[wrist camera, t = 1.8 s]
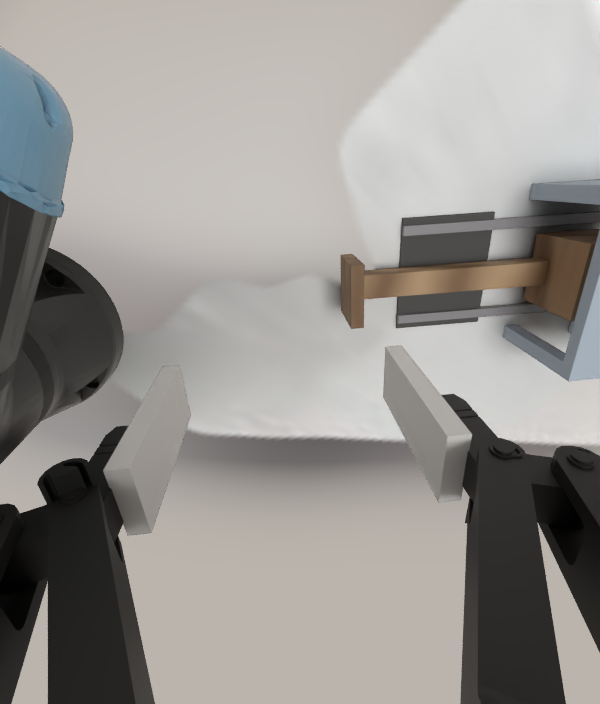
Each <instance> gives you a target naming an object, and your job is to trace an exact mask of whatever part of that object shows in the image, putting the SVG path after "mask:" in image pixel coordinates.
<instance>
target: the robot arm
mask: <svg viewBox="0 0 600 704" xmlns="http://www.w3.org/2000/svg"><path fill="white" fill-rule="evenodd" d="M72 141H73V127H72V122H71V118H70V115H69V112H68V109H67V107H66V105H65V103H64V101H63V100H62V98H61V97H60V95H59V94H58V92H57V91H56V90H55V88H54V87H53V86H52V85H51V84H50V83H49V82H48V81H47V80H46V79H45V78H44V77H43V76H41V75H40V74H39V73H38V72H36V71H35V70H34V69H32V68H31V67H30V66H28V65H27V64H25V63H24V62H23V61H21V60H20V59H18V58H17V57H15V56H14V55H13V54H11V53H10V52H8V51H7V50H5V49H4V48H2V47H1V46H0V464H1V463H2V462H3V461H4V460H5V459H6V458H7V456H8V455H9V454H10V453H11V452H12V451H13V450H14V449H15V448H16V447H17V446H18V445H19V444H20V443H21V442H22V441H23V440H24V438H25V437H26V436H27V435H28V434H29V433H30V432H31V431H32V430H33V429H34V427H36V425H38V423H39V422H40V421H42V420H44V419H46V418H48V417H51V416H53V415H55V414H57V413H59V412H61V411H64V410H66V409H68V408H70V407H72V406H75V405H77V404H79V403H81V402H83V401H84V400H86V399H88V398H89V397H90V396H92V395H93V394H94V393H96V392H97V391H98V390H99V389H100V388H101V387H102V386H103V384H104V383H105V382H106V381H107V380H108V378H109V377H110V376H111V375H112V373H113V372H114V370H115V369H116V367H117V365H118V363H119V360H120V358H121V354H122V349H123V331H122V325H121V321H120V318H119V315H118V312H117V310H116V307H115V305H114V303H113V302H112V300H111V298H110V297H109V295H108V294H107V292H106V291H105V289H104V288H103V287H102V285H101V284H100V283H99V282H98V281H97V280H96V279H95V278H94V277H93V276H92V275H91V274H90V273H89V272H88V271H87V270H86V269H84V268H83V267H82V266H81V265H79V264H78V263H76V262H75V261H73V260H72V259H70V258H69V257H67V256H65V255H63V254H61V253H59V252H57V251H55V250H53V249H51V248H49V244H50V241H51V237H52V233H53V230H54V227H55V223H56V220H57V217H62V214H63V211H64V204H63V202H62V200H61V198H62V193H63V187H64V182H65V177H66V171H67V166H68V160H69V155H70V150H71V146H72ZM383 397H384V399H385V401H386V403H387V405H388V407H389V409H390V411H391V413H392V415H393V416H394V418H395V420H396V422H397V424H398V426H399V428H400V430H401V432H402V434H403V436H404V437H405V439H406V441H407V443H408V445H409V447H410V449H411V451H412V453H413V455H414V457H415V459H416V460H417V462H418V464H419V466H420V468H421V470H422V472H423V474H424V475H425V478H426V480H427V481H428V483H429V485H430V487H431V489H432V491H433V493H434V495H435V497H436V498H437V501H438V502H447V501H457V500H461V496H462V489H463V487H464V489H465V490H466V492H467V494H468V495H469V497H470V499H469V504H468V509H467V515H466V521H465V523H467V547H466V573H465V600H464V602H465V603H464V627H463V655H462V680H461V704H566V703H565V696H564V690H563V683H562V677H561V670H560V664H559V658H558V652H557V645H556V639H555V633H554V626H553V620H552V614H551V607H550V601H549V595H548V588H547V582H546V575H545V569H544V563H543V557H542V550H541V543H540V537H539V531H538V525H537V522H538V523H539V525H540V528H541V530H542V532H543V534H544V536H545V538H546V540H547V542H548V544H549V546H550V548H551V551H552V553H553V555H554V557H555V559H556V561H557V563H558V565H559V568H560V570H561V572H562V574H563V576H564V578H565V580H566V582H567V584H568V586H569V588H570V591H571V593H572V595H573V597H574V599H575V601H576V603H577V605H578V607H579V610H580V612H581V614H582V616H583V618H584V620H585V622H586V624H587V627H588V629H589V631H590V633H591V635H592V637H593V639H594V641H595V643H596V645H597V648H598V650H599V652H600V456H599V455H597V454H595V453H593V452H591V451H589V450H587V449H584V448H581V447H575V446H561V447H559V448H557V449H556V451H555V453H554V456H553V458H551V457H543V456H535V455H529V454H525V452H524V450H523V449H522V448H521V447H520V446H519V445H517V444H515V443H513V442H511V441H509V440H505V439H502V438H498V437H497V436H496V435H495V434H494V433H493V432H492V431H491V429H490V428H489V427H488V426H487V425H486V424H485V423H484V421H483V420H482V419H481V418H480V417H478V415H477V414H476V412H475V411H474V410H472V408H471V407H470V406H469V405H468V403H467V402H466V401H465V400H463V399H461V398H460V397H458V396H456V395H455V394H448V395H441V394H440V393H439V392H438V391H437V389H436V388H435V387H434V386H433V384H432V383H431V382H430V381H429V379H428V378H427V377H426V375H425V374H424V373H423V372H422V370H421V369H420V368H419V367H418V365H417V364H416V363H415V362H414V360H413V359H412V358H411V357H410V355H409V354H408V353H407V352H406V350H405V349H404V348H403V347H402V345H401V346H389V347H385V369H384V392H383ZM190 416H191V413H190V409H189V404H188V400H187V395H186V391H185V387H184V382H183V378H182V373H181V369H180V365H174V366H163V367H162V368H161V370H160V372H159V374H158V375H157V377H156V379H155V381H154V382H153V384H152V386H151V388H150V389H149V391H148V393H147V395H146V396H145V398H144V400H143V402H142V403H141V405H140V407H139V409H138V410H137V412H136V414H135V416H134V417H133V419H132V421H131V423H130V424H129V426H120V427H116V428H114V429H113V430H112V431H111V432H110V433H108V434H107V435H106V436H105V438H104V439H103V441H102V442H101V444H100V445H99V446H100V447H99V448H97V450H96V452H95V453H94V455H93V456H92V458H91V459H90V461H89V462H88V461H87V460H85V459H82V458H75V459H69V460H66V461H62V462H60V463H58V464H56V465H54V466H52V467H51V468H50V469H48V470H47V471H45V472H44V474H43V475H42V476H41V477H40V478H39V481H38V486H39V488H40V490H41V492H42V494H43V496H44V499H45V500H46V502H47V505H45V506H42V507H39V508H36V509H33V510H30V511H27V512H23V513H19V511H18V510H17V508H16V507H15V505H11V504H2V505H0V704H11V702H12V699H13V696H14V692H15V689H16V686H17V682H18V679H19V676H20V672H21V669H22V666H23V662H24V658H25V655H26V652H27V649H28V645H29V642H30V639H31V635H32V632H33V628H34V625H35V622H36V618H37V615H38V612H39V608H40V605H41V601H42V598H43V595H44V591H45V588H46V584H47V581H48V704H155V702H154V698H153V693H152V688H151V683H150V678H149V674H148V669H147V665H146V660H145V655H144V650H143V645H142V640H141V636H140V631H139V626H138V622H137V617H136V612H135V607H134V603H133V598H132V593H131V588H130V584H129V579H128V574H127V570H126V565H125V560H124V556H123V550H122V546H121V542H120V540H119V537H118V534H119V532H120V529H121V527H122V525H124V527H125V530H126V532H127V535H138V534H147V533H152V530H153V527H154V524H155V521H156V518H157V515H158V512H159V509H160V506H161V503H162V500H163V497H164V494H165V491H166V488H167V485H168V482H169V479H170V476H171V473H172V470H173V467H174V464H175V461H176V458H177V455H178V452H179V449H180V446H181V443H182V440H183V437H184V434H185V431H186V428H187V425H188V422H189V419H190Z"/></svg>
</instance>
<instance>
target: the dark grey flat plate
mask: <svg viewBox="0 0 600 704" xmlns="http://www.w3.org/2000/svg"><path fill="white" fill-rule="evenodd" d="M494 214H495V212H484V213H469V214H455V215H441V216H427V217H413V218H402V227H403V226H408V225H422V224H436V223H450V222H464V221H478V220H492V219H494ZM491 233H492V230H482V231H469V232H455V233H441V234H427V235H414V236H402V231H401V249H400V267H399V268H405V267H419V266H432V265H445V264H458V263H471V262H484V261H487V259H488V252H489V246H490V240H491ZM482 291H483V290H473V291H461V292H448V293H436V294H423V295H410V296H398V302H397V314H408V313H421V312H433V311H445V310H457V309H470V308H480V303H481V297H482ZM476 321H478V317H474V318H462V319H450V320H438V321H426V322H414V323H402V324H398V323H397V320H396V328H404V327H416V326H428V325H440V324H452V323H464V322H476Z"/></svg>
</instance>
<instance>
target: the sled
mask: <svg viewBox="0 0 600 704" xmlns="http://www.w3.org/2000/svg"><path fill="white" fill-rule="evenodd" d="M599 230H600V229H590V230H576V231H563V232H549V233H537V237H536V242H535V247H534V252H533V256H532V258H523V259H510V260H497V261H484V262H471V263H458V264H445V265H432V266H419V267H405V268H392V269H379V270H366V271H364V270H365V269H364V268H365V265H364V264H363V263H362V262H361V261H360V260H358V259H357V258H356V257H355V256H354V255H353V254H347V255H341V311H342V313H343V315H344V316H345V318H346V320H347V322H348V324H349V326H350V327H351V329H355V328H364V299H373V298H385V297H398V296H410V295H423V294H436V293H448V292H461V291H473V290H486V289H498V288H511V287H524V286H526V290H525V295H524V300H526V301H528V302H530V303H533V304H535V305H537V306H539V307H541V308H543V309H545V310H547V311H550V312H552V313H554V314H556V315H558V316H560V317H562V318H564V319H567V320H569V321H575V317H576V313H577V310H578V306H579V303H580V299H581V295H582V292H583V288H584V284H585V281H586V277H587V274H588V270H589V266H590V263H591V259H592V256H593V252H594V248H595V245H596V241H597V237H598V234H599Z"/></svg>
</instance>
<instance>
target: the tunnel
mask: <svg viewBox="0 0 600 704" xmlns="http://www.w3.org/2000/svg"><path fill="white" fill-rule="evenodd" d="M529 199H530V200H544V201H557V202H570V203H584V204H597V205H600V179H599V180H584V181H570V182H555V183H540V184H532V188H531V193H530V198H529ZM592 222H600V211H599V212H585V213H571V214H557V215H543V216H529V217H515V218H501V219H492V220H478V221H464V222H450V223H436V224H422V225H408V226H403V227H402V236H414V235H427V234H441V233H455V232H469V231H482V230H496V229H510V228H524V227H537V226H551V225H565V224H579V223H592ZM535 312H547V310H545V309H543V308H541V307H539V306H537V305H535V304H533V303H522V304H510V305H497V306H485V307H480V308H470V309H457V310H445V311H433V312H421V313H408V314H397V323H398V324H402V323H414V322H426V321H438V320H450V319H462V318H474V317H486V316H498V315H510V314H523V313H535ZM568 332H570V333H571V335H570V339H569V342H568V346H567V350H566V353H564V352H562V351H560V350H559V349H557V348H555V347H554V346H552V345H550V344H549V343H547V342H545V341H543V340H542V339H540V338H538V337H537V336H535V335H533V334H532V333H530V332H528V331H526V330H525V329H523V328H521V327H520V326H518V325H509V326H505V328H504V333H503V337H504V338H505V339H507V340H508V341H510V342H511V343H513V344H514V345H516V346H517V347H518V348H520V349H521V350H523V351H524V352H526V353H527V354H529V355H530V356H532V357H533V358H535V359H536V360H538V361H539V362H541V363H542V364H544V365H545V366H547V367H548V368H550V369H551V370H553V371H554V372H556V373H557V374H559V375H560V376H561V377H563V378H564V379H566V380H567V381H577V380H588V379H599V378H600V230H599V234H598V237H597V241H596V245H595V248H594V252H593V256H592V259H591V263H590V266H589V270H588V274H587V277H586V281H585V284H584V288H583V292H582V295H581V299H580V303H579V306H578V310H577V313H576V317H575V321H571V323H570V327H569V330H568Z"/></svg>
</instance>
